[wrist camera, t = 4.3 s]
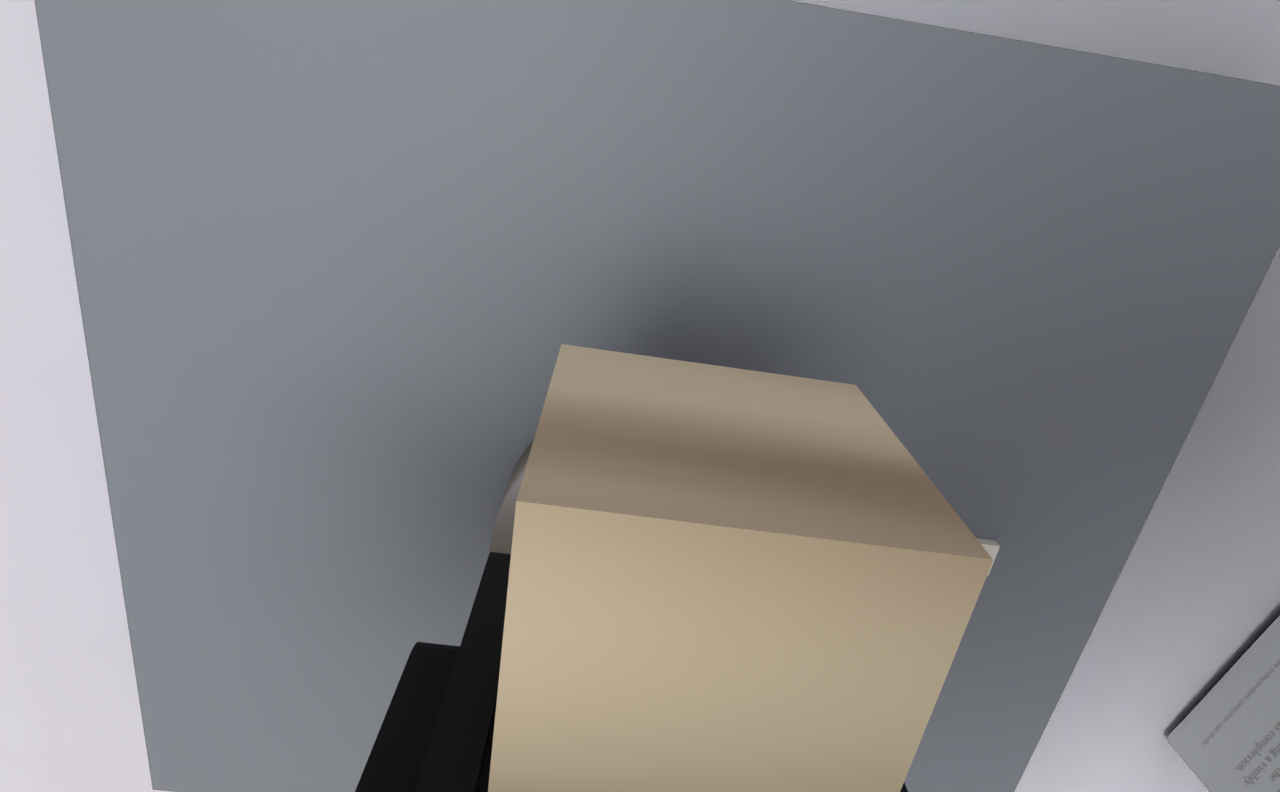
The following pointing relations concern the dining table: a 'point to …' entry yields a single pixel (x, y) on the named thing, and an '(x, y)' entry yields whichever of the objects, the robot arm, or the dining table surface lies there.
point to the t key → (720, 586)
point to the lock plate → (612, 311)
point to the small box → (1238, 724)
